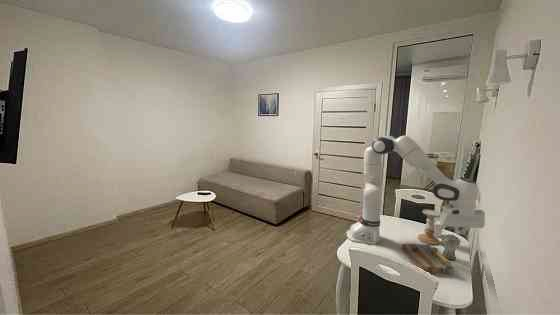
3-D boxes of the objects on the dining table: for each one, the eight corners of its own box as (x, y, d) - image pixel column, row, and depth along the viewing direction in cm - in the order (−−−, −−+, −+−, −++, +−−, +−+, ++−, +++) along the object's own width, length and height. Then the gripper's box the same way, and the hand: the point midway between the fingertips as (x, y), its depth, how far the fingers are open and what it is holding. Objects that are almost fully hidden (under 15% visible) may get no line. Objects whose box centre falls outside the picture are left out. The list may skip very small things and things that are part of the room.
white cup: (442, 239, 148) (444, 225, 146) (428, 235, 152) (430, 222, 150) (441, 234, 154) (442, 221, 153) (428, 231, 158) (429, 218, 157)
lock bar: (430, 252, 125) (430, 247, 125) (435, 252, 125) (436, 247, 124) (444, 266, 112) (445, 261, 112) (450, 266, 112) (451, 261, 112)
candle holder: (443, 246, 139) (447, 217, 136) (422, 244, 141) (425, 215, 138) (433, 236, 151) (437, 209, 148) (414, 234, 153) (417, 208, 150)
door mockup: (421, 273, 114) (422, 262, 113) (402, 249, 135) (402, 239, 134) (453, 275, 112) (455, 264, 111) (428, 250, 134) (429, 241, 133)
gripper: (480, 207, 113) (476, 232, 115) (438, 206, 115) (435, 230, 117) (490, 212, 107) (486, 238, 109) (446, 210, 109) (443, 236, 111)
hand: (459, 234), depth 113 cm, fingers closed
